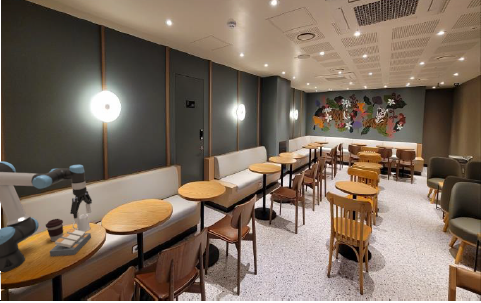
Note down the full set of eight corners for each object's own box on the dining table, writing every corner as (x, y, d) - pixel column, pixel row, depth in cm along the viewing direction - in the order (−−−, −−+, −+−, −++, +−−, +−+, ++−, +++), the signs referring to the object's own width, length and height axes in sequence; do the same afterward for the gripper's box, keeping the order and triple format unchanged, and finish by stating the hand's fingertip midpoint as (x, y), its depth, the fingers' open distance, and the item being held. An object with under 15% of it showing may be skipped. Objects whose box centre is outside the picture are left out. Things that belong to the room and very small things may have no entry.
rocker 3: (66, 234, 158) (67, 231, 157) (70, 231, 162) (71, 228, 162) (81, 237, 159) (81, 235, 159) (84, 234, 164) (85, 231, 163)
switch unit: (50, 256, 145) (49, 249, 144) (70, 239, 165) (69, 233, 164) (74, 254, 147) (73, 247, 146) (91, 237, 167) (90, 231, 166)
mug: (76, 235, 170) (74, 221, 168) (70, 233, 174) (68, 219, 171) (92, 228, 180) (90, 215, 178) (86, 226, 184) (84, 213, 182)
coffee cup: (49, 237, 167) (46, 219, 164) (66, 233, 173) (63, 216, 170) (47, 244, 159) (43, 225, 156) (64, 239, 164) (61, 221, 162)
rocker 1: (54, 244, 146) (55, 241, 146) (59, 240, 150) (59, 237, 150) (70, 247, 148) (71, 244, 147) (74, 243, 152) (75, 241, 152)
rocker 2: (60, 239, 152) (61, 236, 152) (65, 235, 156) (65, 232, 156) (75, 242, 153) (76, 239, 153) (79, 238, 158) (80, 236, 157)
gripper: (73, 194, 134) (77, 226, 137) (95, 181, 158) (98, 208, 162) (60, 195, 133) (65, 226, 137) (84, 182, 157) (87, 209, 161)
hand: (83, 217), depth 149 cm, fingers open, 13 cm apart
